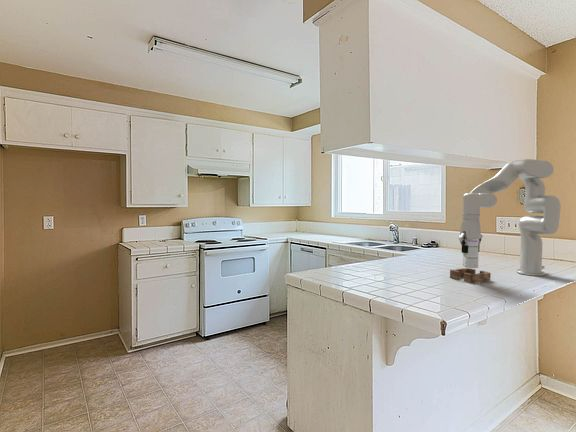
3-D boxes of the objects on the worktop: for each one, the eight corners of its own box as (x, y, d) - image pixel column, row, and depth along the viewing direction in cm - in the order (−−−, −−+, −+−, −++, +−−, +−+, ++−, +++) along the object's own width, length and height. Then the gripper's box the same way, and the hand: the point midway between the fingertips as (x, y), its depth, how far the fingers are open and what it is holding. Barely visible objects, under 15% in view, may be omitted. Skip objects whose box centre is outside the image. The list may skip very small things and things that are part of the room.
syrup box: (478, 268, 163) (479, 239, 163) (465, 267, 165) (466, 238, 164) (474, 266, 169) (475, 237, 168) (462, 265, 170) (462, 237, 170)
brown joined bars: (466, 275, 176) (466, 267, 176) (491, 280, 164) (491, 272, 164) (448, 277, 170) (449, 270, 170) (473, 283, 158) (473, 275, 158)
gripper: (475, 217, 173) (474, 250, 174) (452, 218, 165) (452, 252, 166) (489, 217, 166) (488, 252, 167) (466, 218, 159) (465, 254, 159)
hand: (470, 252), depth 166 cm, fingers closed on syrup box, 8 cm apart
